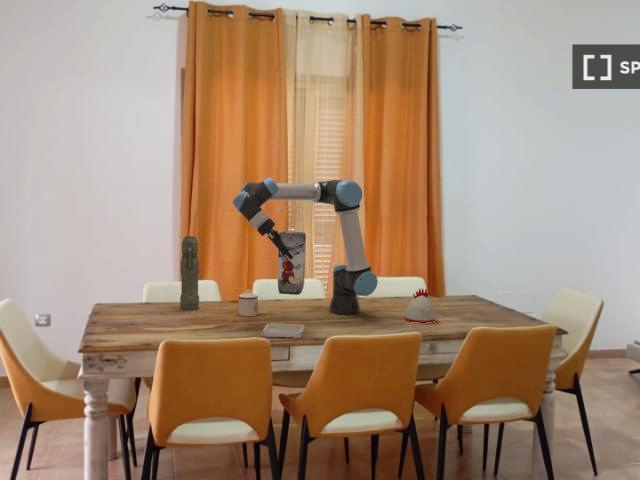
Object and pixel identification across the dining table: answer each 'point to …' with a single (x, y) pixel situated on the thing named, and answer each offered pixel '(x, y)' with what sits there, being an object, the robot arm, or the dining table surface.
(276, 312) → the dining table surface
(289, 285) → the juice carton
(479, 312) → the dining table surface
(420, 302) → the grey dome with crest
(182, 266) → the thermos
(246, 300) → the teacup with lid
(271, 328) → the carton tray
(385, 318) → the dining table surface
